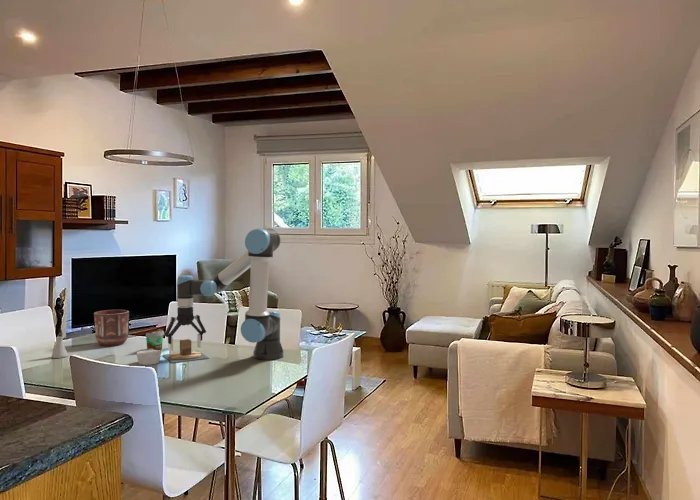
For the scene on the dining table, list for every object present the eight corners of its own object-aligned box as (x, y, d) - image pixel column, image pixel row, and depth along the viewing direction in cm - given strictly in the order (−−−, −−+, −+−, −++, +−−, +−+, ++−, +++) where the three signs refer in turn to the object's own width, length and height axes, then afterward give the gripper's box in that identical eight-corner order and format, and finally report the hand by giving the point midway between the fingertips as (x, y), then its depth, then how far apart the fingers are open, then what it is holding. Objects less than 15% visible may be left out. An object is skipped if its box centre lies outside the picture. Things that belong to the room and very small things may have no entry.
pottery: (118, 339, 313) (117, 308, 312) (135, 343, 303) (135, 311, 302) (88, 344, 298) (87, 312, 298) (105, 349, 288) (104, 315, 287)
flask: (71, 356, 272) (71, 336, 271) (58, 359, 265) (57, 339, 265) (61, 354, 275) (61, 335, 274) (48, 357, 268) (48, 337, 268)
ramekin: (153, 359, 267) (153, 348, 267) (166, 362, 260) (165, 351, 260) (132, 363, 259) (131, 352, 258) (144, 367, 251) (144, 355, 251)
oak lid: (205, 357, 269) (205, 341, 268) (174, 361, 260) (174, 344, 260) (195, 351, 281) (195, 336, 281) (166, 355, 273) (166, 339, 273)
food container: (156, 352, 280) (156, 333, 280) (145, 352, 281) (145, 333, 281) (168, 347, 292) (168, 329, 292) (158, 347, 293) (158, 328, 293)
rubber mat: (209, 358, 268) (209, 357, 268) (172, 363, 258) (172, 362, 258) (197, 351, 283) (197, 350, 283) (162, 355, 273) (162, 354, 273)
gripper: (207, 303, 280) (207, 344, 280) (157, 307, 266) (157, 350, 267) (212, 305, 273) (212, 347, 274) (161, 309, 260) (161, 353, 261)
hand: (185, 348), depth 271 cm, fingers open, 13 cm apart
